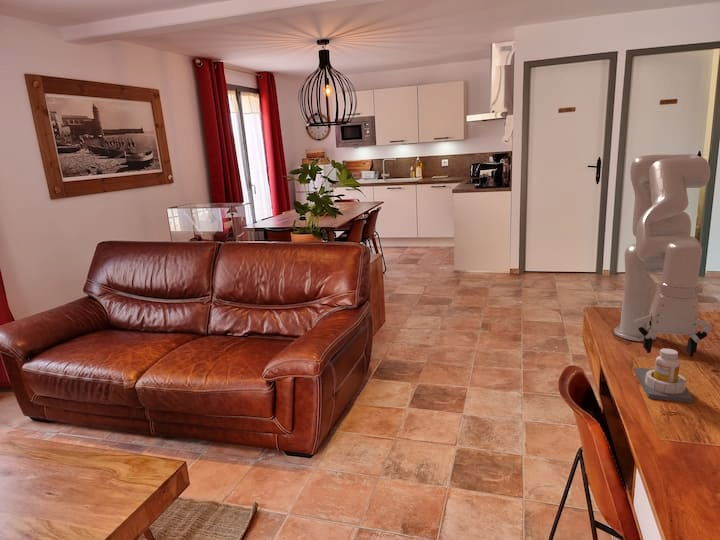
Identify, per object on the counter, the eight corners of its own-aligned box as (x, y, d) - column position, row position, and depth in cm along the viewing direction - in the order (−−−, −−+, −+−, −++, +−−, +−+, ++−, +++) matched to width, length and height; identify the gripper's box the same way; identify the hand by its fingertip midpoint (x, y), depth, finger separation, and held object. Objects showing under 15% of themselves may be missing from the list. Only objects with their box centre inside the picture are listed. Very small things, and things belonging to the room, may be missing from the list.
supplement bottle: (669, 380, 131) (674, 347, 129) (680, 390, 126) (685, 355, 123) (648, 380, 132) (653, 346, 129) (658, 389, 126) (663, 355, 124)
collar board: (634, 371, 140) (636, 359, 139) (674, 375, 137) (676, 363, 136) (648, 398, 125) (650, 385, 124) (693, 403, 122) (695, 389, 121)
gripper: (712, 288, 123) (701, 350, 128) (635, 284, 128) (628, 343, 133) (723, 297, 116) (712, 362, 121) (642, 293, 121) (634, 355, 126)
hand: (668, 352), depth 127 cm, fingers open, 9 cm apart
